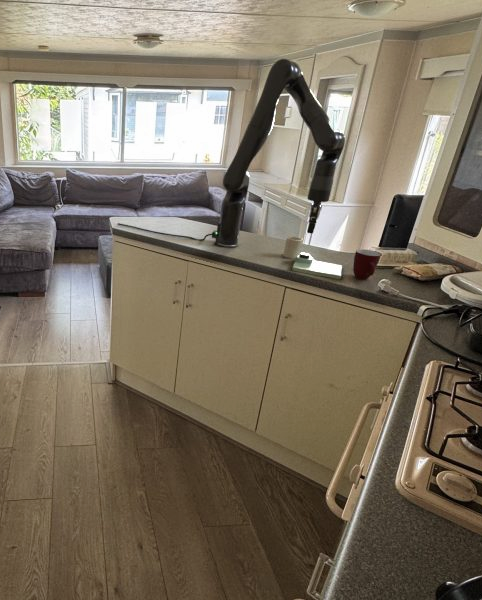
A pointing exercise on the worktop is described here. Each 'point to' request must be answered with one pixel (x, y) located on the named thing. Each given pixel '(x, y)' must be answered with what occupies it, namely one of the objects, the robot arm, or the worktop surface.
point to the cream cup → (292, 247)
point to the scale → (317, 267)
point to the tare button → (304, 255)
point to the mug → (365, 263)
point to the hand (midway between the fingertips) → (310, 230)
